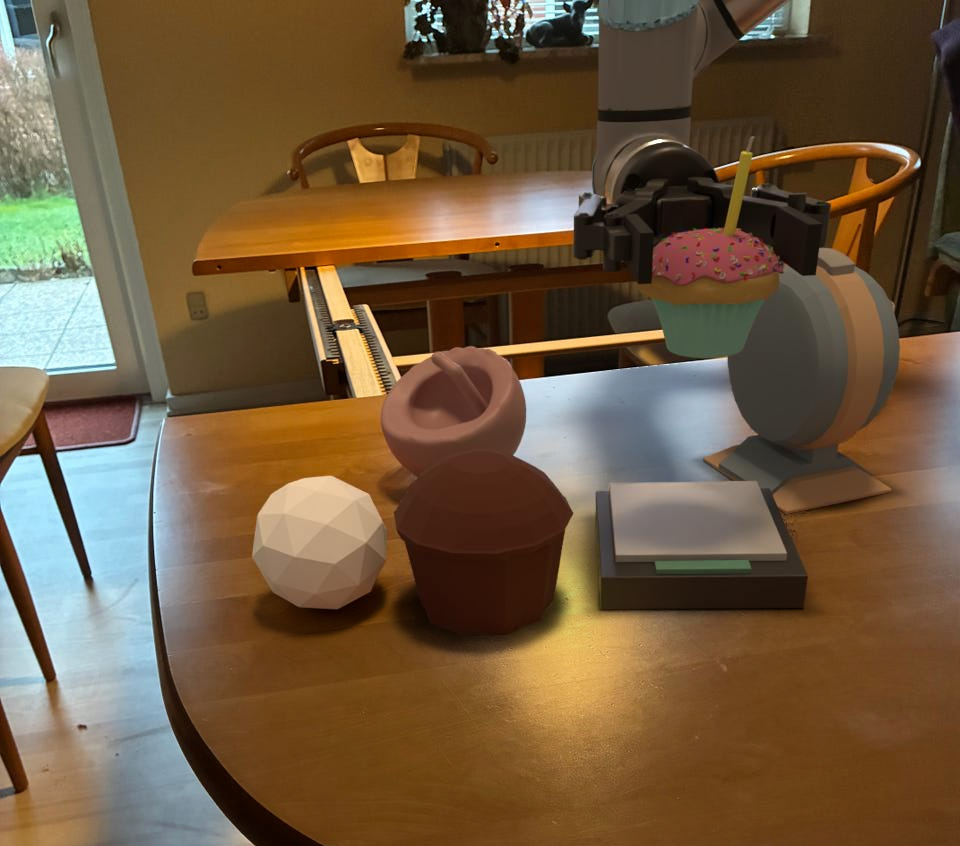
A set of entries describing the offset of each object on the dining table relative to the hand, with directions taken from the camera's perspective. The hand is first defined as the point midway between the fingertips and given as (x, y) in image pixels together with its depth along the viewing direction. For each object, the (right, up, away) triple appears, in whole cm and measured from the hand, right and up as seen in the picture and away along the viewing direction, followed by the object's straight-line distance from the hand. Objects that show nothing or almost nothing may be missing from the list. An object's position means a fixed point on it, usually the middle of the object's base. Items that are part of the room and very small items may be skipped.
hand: (729, 254), depth 54 cm
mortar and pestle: (-16, -8, +30) cm, 34 cm away
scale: (+1, -16, +15) cm, 22 cm away
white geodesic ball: (-24, -18, +14) cm, 33 cm away
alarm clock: (+12, -8, +27) cm, 31 cm away
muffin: (-13, -19, +11) cm, 26 cm away
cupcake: (0, -3, +7) cm, 8 cm away
